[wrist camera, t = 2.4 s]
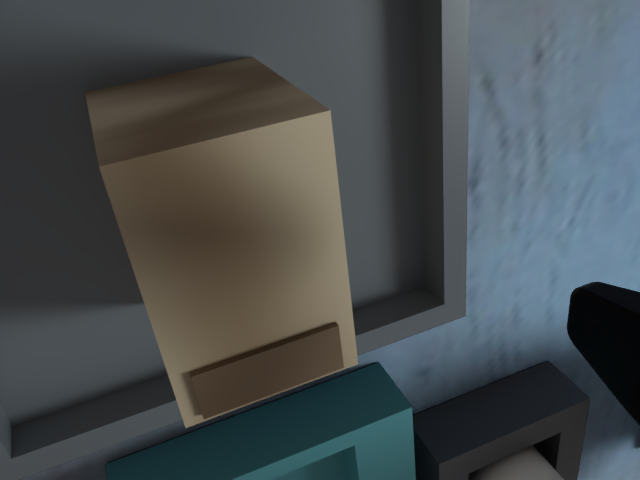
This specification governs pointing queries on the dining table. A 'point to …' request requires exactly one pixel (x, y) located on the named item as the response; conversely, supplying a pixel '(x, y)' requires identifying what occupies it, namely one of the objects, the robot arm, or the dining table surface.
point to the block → (230, 229)
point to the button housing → (503, 426)
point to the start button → (518, 468)
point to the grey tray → (101, 225)
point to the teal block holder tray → (295, 438)
